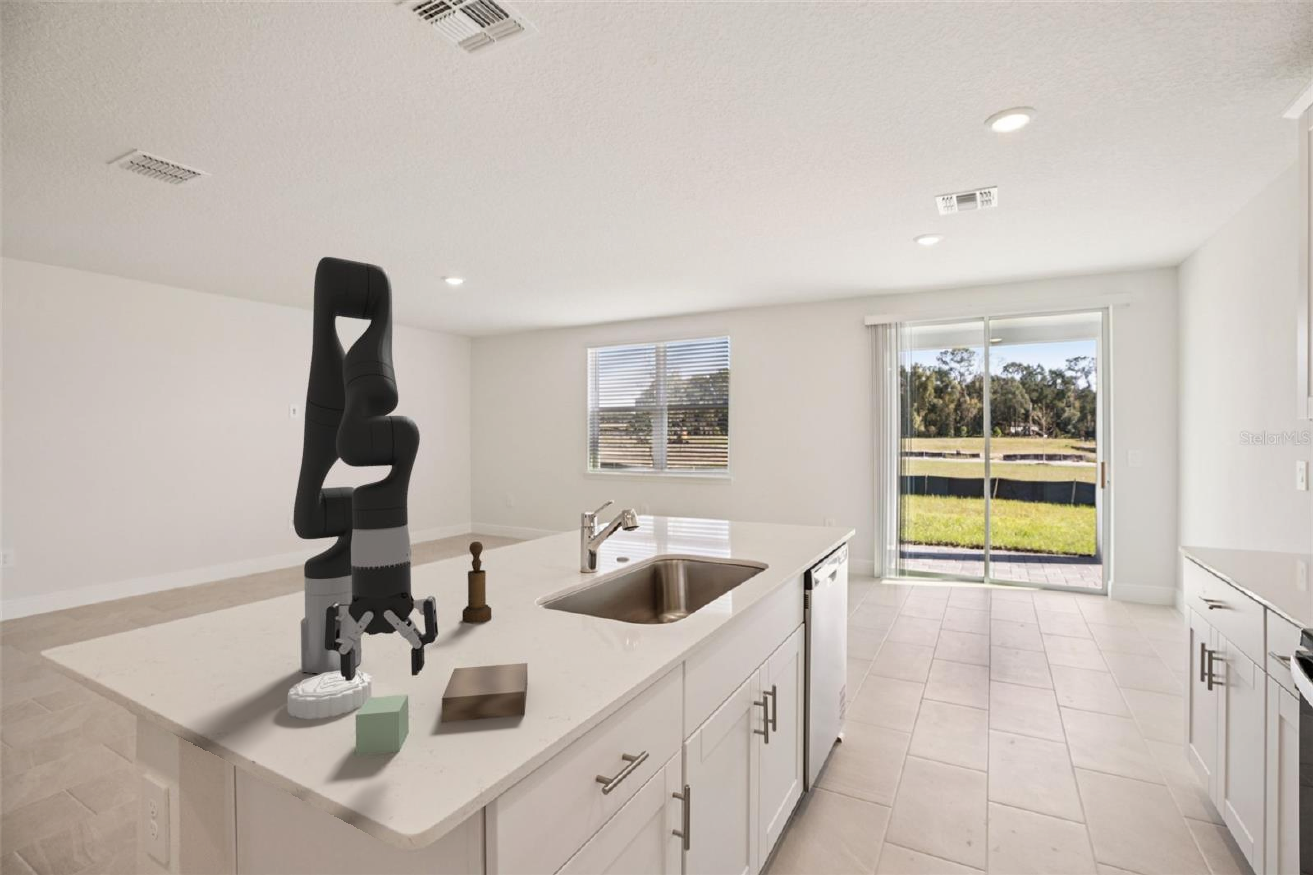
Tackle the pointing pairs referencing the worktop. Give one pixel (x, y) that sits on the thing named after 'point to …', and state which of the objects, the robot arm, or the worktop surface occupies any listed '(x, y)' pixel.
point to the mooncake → (328, 695)
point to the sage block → (382, 725)
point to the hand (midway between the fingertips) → (383, 676)
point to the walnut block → (485, 692)
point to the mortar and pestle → (476, 590)
